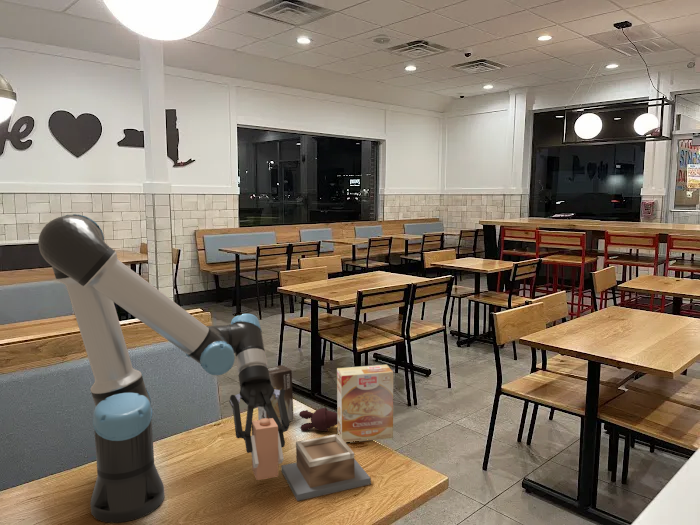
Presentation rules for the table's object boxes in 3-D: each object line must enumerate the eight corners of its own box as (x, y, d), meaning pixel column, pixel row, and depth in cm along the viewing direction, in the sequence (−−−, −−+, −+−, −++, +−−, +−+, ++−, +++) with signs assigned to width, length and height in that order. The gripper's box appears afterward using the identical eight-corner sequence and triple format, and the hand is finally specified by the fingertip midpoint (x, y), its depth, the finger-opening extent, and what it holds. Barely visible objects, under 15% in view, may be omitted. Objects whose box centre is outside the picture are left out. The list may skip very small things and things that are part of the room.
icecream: (350, 403, 157) (300, 407, 158) (348, 407, 149) (296, 410, 150) (352, 427, 156) (302, 431, 157) (350, 432, 148) (298, 435, 149)
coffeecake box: (341, 444, 145) (340, 375, 142) (336, 433, 151) (336, 367, 149) (394, 438, 148) (394, 371, 145) (386, 427, 155) (386, 363, 152)
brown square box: (310, 487, 120) (309, 462, 119) (296, 465, 130) (296, 441, 129) (354, 478, 124) (354, 453, 123) (338, 457, 134) (337, 433, 133)
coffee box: (284, 413, 165) (283, 364, 163) (294, 420, 160) (292, 369, 158) (257, 420, 160) (255, 369, 158) (266, 428, 155) (264, 375, 153)
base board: (297, 501, 117) (297, 494, 117) (281, 471, 130) (281, 465, 130) (370, 484, 124) (370, 478, 124) (348, 457, 137) (348, 451, 137)
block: (256, 480, 119) (256, 426, 118) (252, 469, 124) (251, 417, 122) (278, 476, 121) (278, 422, 120) (273, 466, 126) (272, 414, 124)
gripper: (285, 374, 138) (303, 462, 125) (215, 382, 131) (226, 476, 118) (290, 360, 132) (310, 451, 119) (217, 367, 126) (229, 464, 112)
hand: (268, 463), depth 119 cm, fingers closed on block, 5 cm apart
